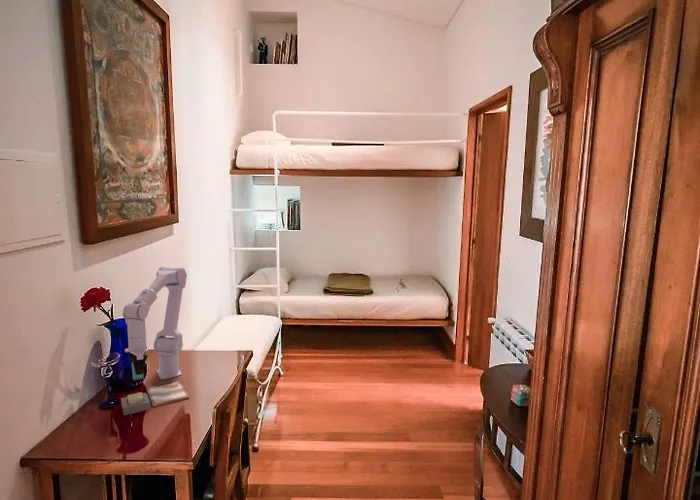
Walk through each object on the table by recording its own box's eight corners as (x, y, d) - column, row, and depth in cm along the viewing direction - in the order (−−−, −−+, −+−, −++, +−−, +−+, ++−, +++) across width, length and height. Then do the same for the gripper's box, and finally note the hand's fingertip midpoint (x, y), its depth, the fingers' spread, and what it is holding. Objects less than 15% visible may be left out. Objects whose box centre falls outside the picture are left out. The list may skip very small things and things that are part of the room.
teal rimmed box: (132, 376, 153) (131, 358, 152) (142, 374, 155) (141, 356, 154) (133, 380, 150) (132, 361, 149) (143, 378, 152) (142, 359, 151)
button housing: (121, 405, 146) (121, 398, 146) (146, 399, 151) (146, 392, 150) (123, 415, 140) (123, 408, 139) (150, 409, 144) (149, 401, 144)
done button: (127, 402, 146) (127, 395, 145) (141, 399, 148) (141, 392, 148) (129, 407, 142) (128, 400, 142) (143, 404, 144) (143, 397, 144)
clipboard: (146, 389, 159) (146, 386, 158) (179, 381, 165) (179, 378, 165) (153, 407, 145) (152, 403, 145) (189, 398, 152) (189, 395, 152)
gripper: (122, 332, 155) (124, 367, 156) (126, 344, 143) (128, 382, 144) (143, 329, 158) (145, 363, 160) (149, 340, 146) (150, 377, 148)
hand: (138, 372), depth 153 cm, fingers closed on teal rimmed box, 3 cm apart
